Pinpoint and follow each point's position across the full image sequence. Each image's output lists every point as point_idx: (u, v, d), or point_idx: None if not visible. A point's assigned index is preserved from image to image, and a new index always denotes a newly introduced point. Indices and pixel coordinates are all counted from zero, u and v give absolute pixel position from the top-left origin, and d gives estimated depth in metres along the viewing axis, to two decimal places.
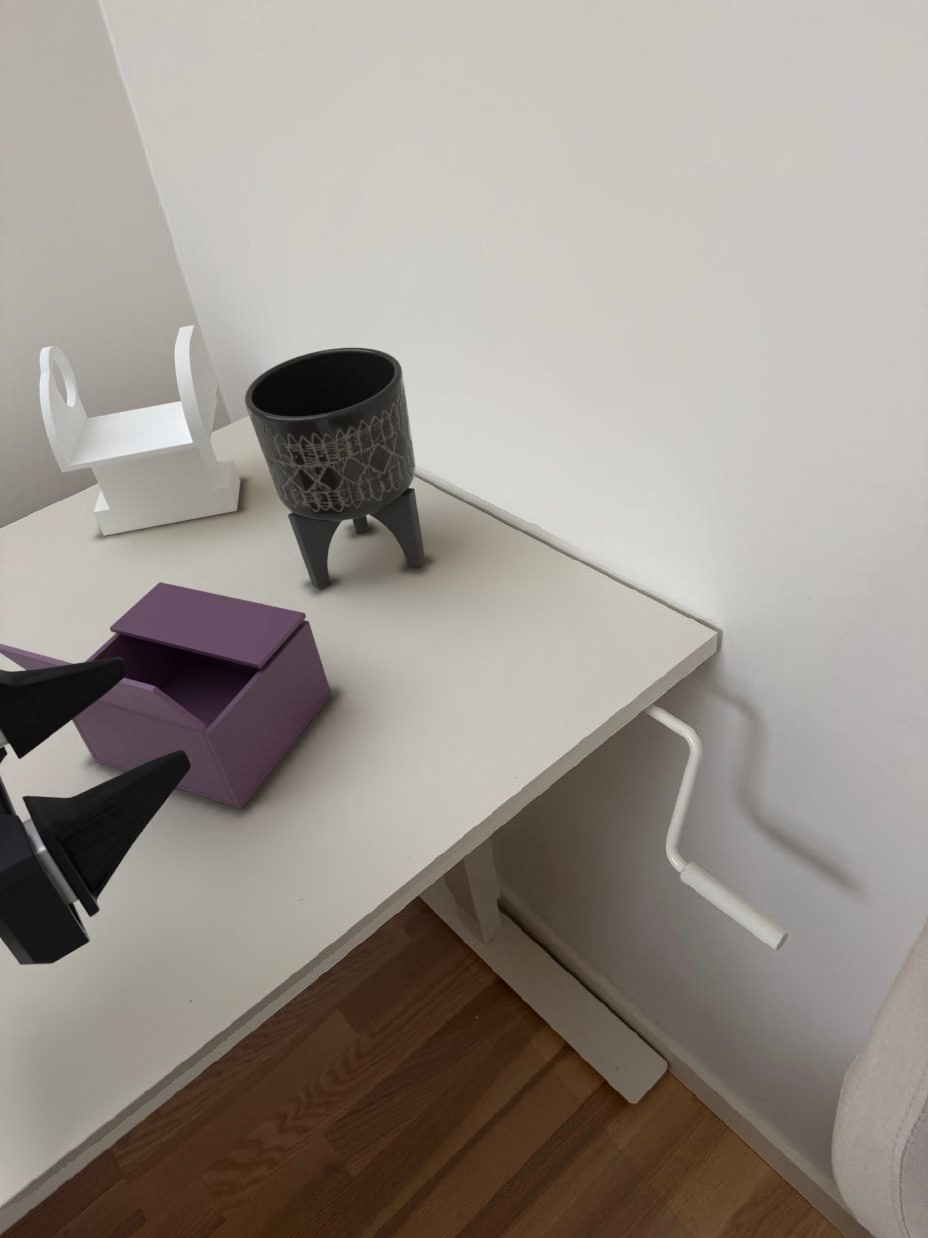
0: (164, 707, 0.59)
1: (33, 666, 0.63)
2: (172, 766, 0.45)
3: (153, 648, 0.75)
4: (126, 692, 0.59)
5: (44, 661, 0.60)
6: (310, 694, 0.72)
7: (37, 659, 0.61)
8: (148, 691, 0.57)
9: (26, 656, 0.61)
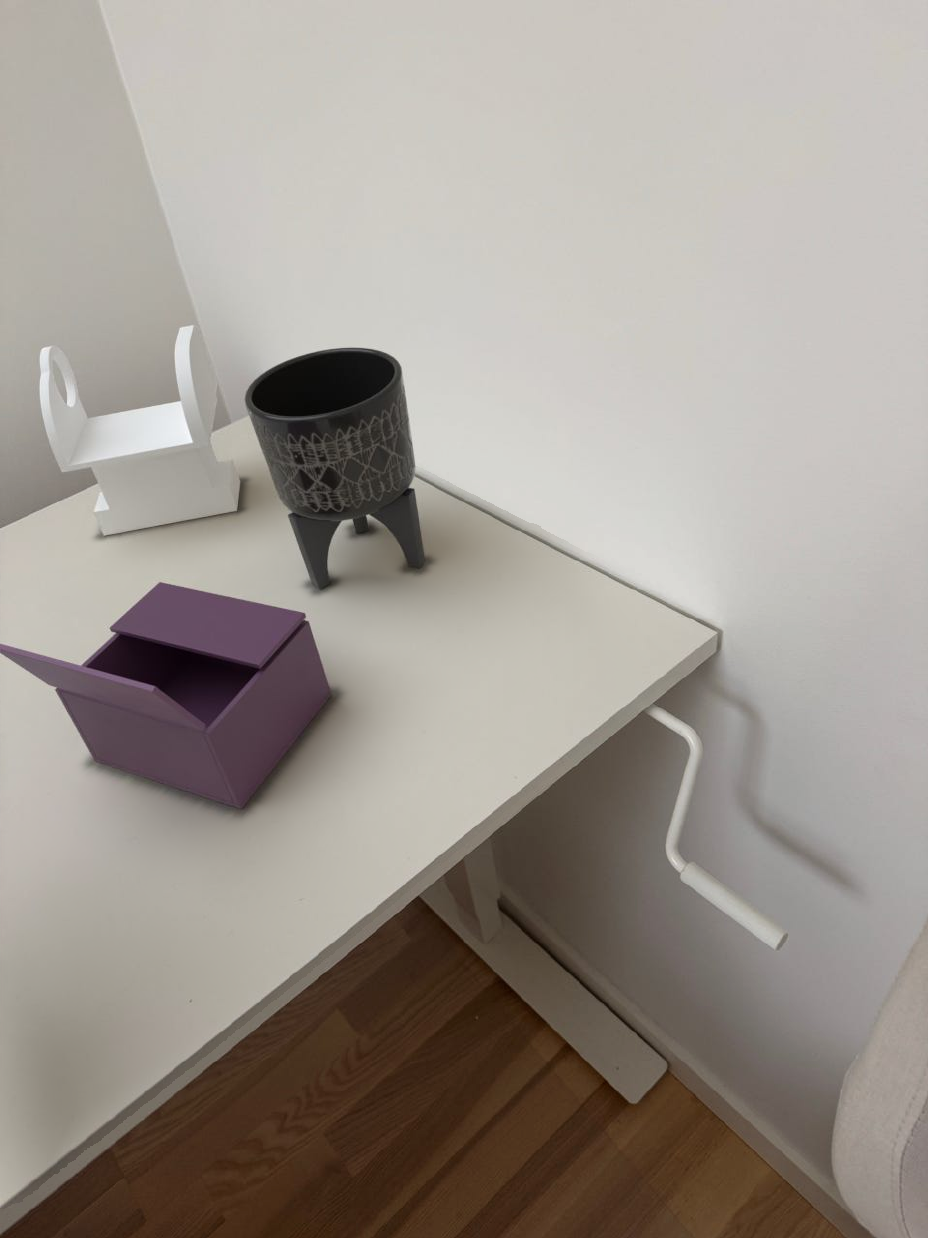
0: (164, 707, 0.59)
1: (33, 666, 0.63)
2: None
3: (153, 648, 0.75)
4: (126, 692, 0.59)
5: (44, 661, 0.60)
6: (310, 694, 0.72)
7: (37, 659, 0.61)
8: (148, 691, 0.57)
9: (26, 656, 0.61)
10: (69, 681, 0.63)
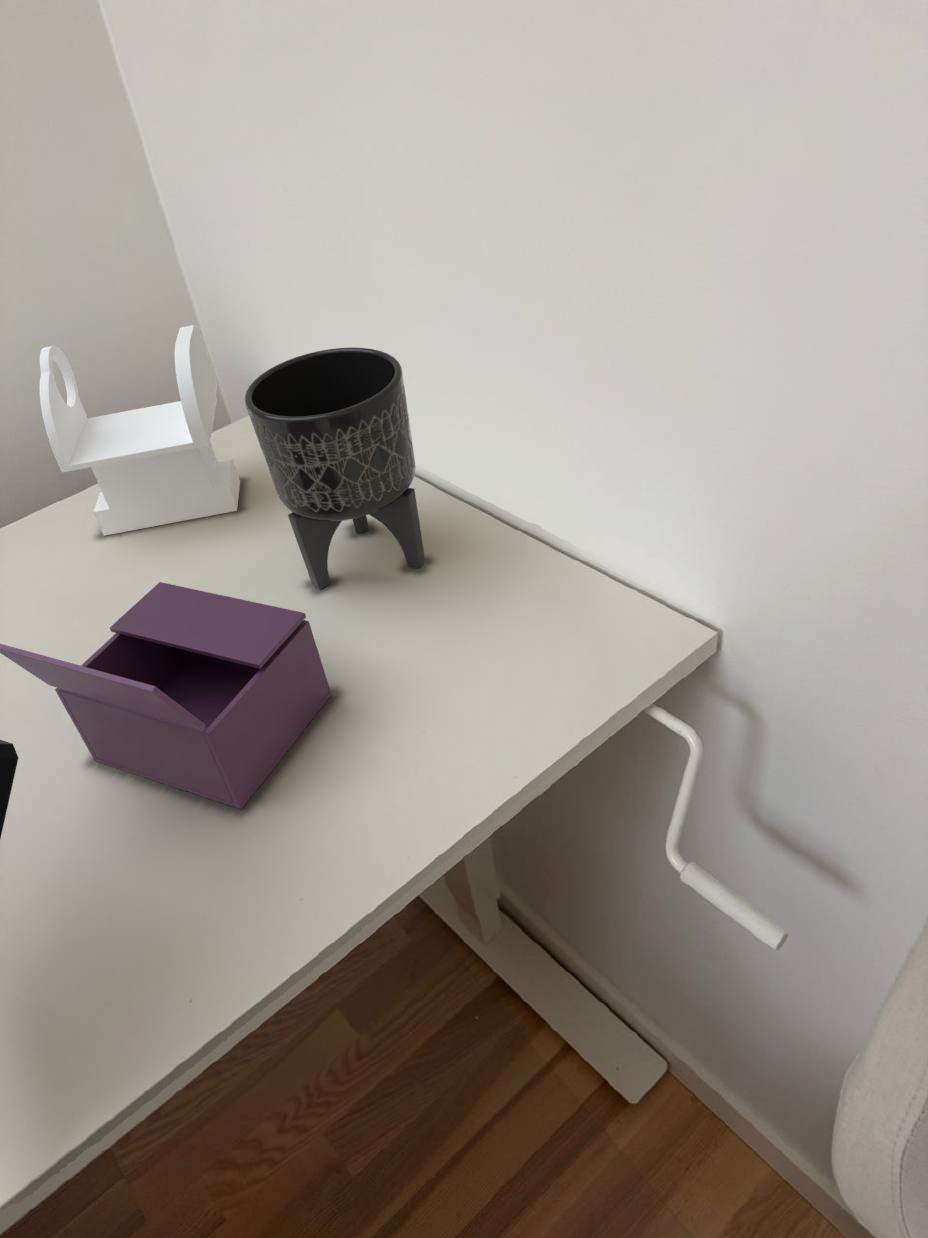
0: (164, 707, 0.59)
1: (33, 666, 0.63)
2: None
3: (153, 648, 0.75)
4: (126, 692, 0.59)
5: (44, 661, 0.60)
6: (310, 694, 0.72)
7: (37, 659, 0.61)
8: (148, 691, 0.57)
9: (26, 656, 0.61)
10: (69, 681, 0.63)
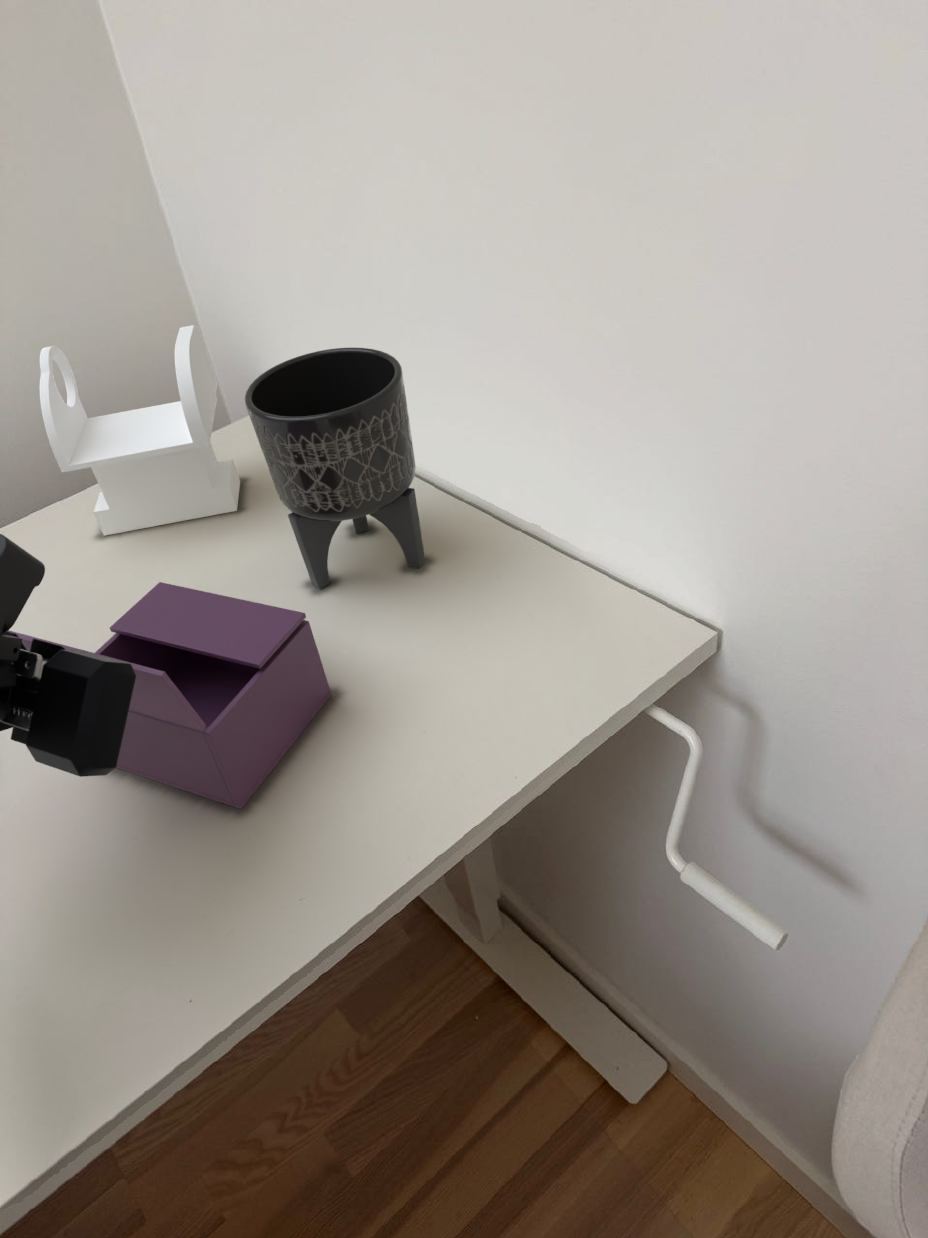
0: (168, 699, 0.59)
1: None
2: None
3: (153, 648, 0.75)
4: None
5: None
6: (310, 694, 0.72)
7: None
8: (157, 676, 0.57)
9: None
10: None
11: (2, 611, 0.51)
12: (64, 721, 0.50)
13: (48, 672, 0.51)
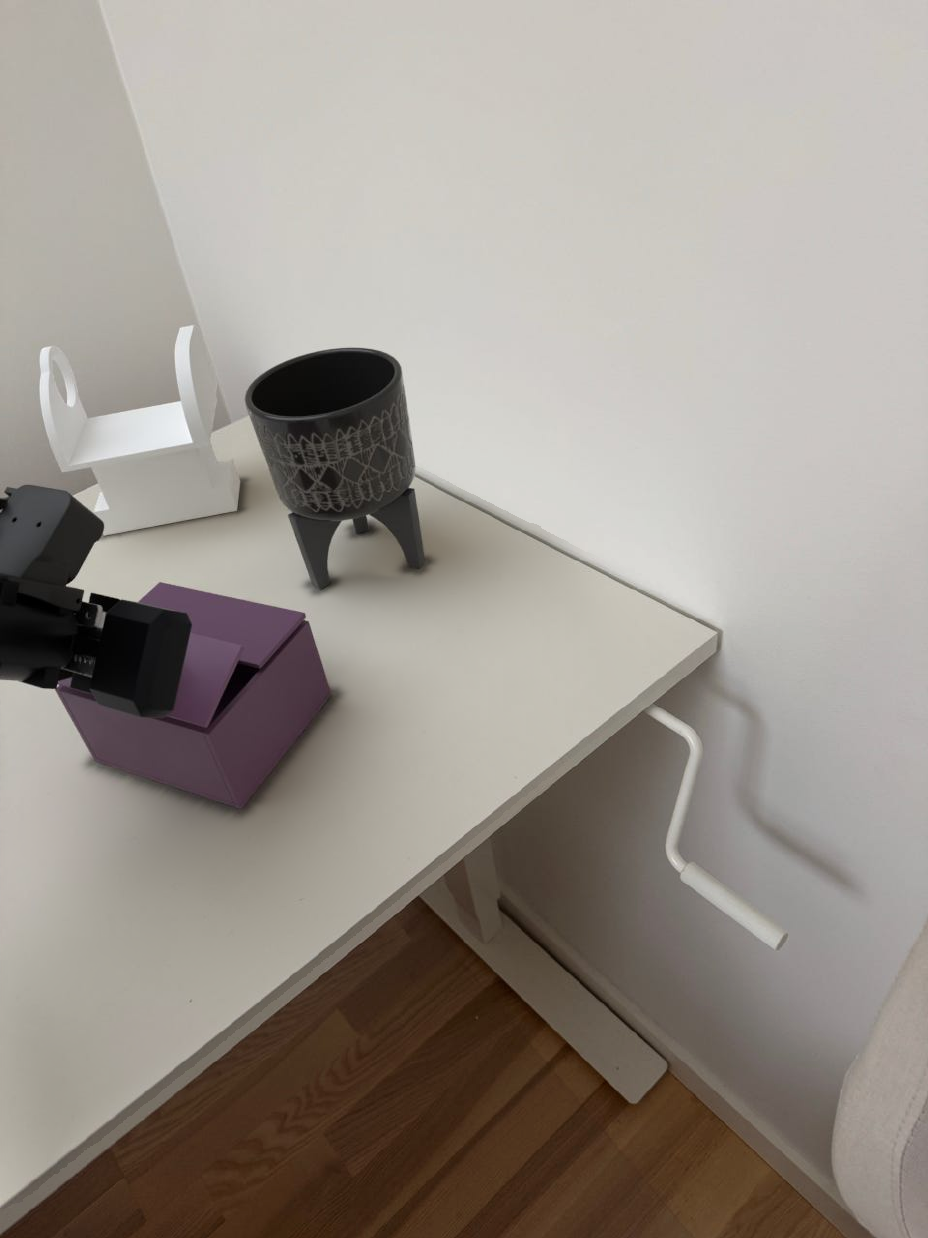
0: (210, 680, 0.63)
1: None
2: None
3: None
4: (190, 658, 0.64)
5: None
6: (310, 694, 0.72)
7: None
8: (235, 645, 0.63)
9: None
10: None
11: (66, 563, 0.55)
12: (126, 665, 0.53)
13: (110, 620, 0.54)
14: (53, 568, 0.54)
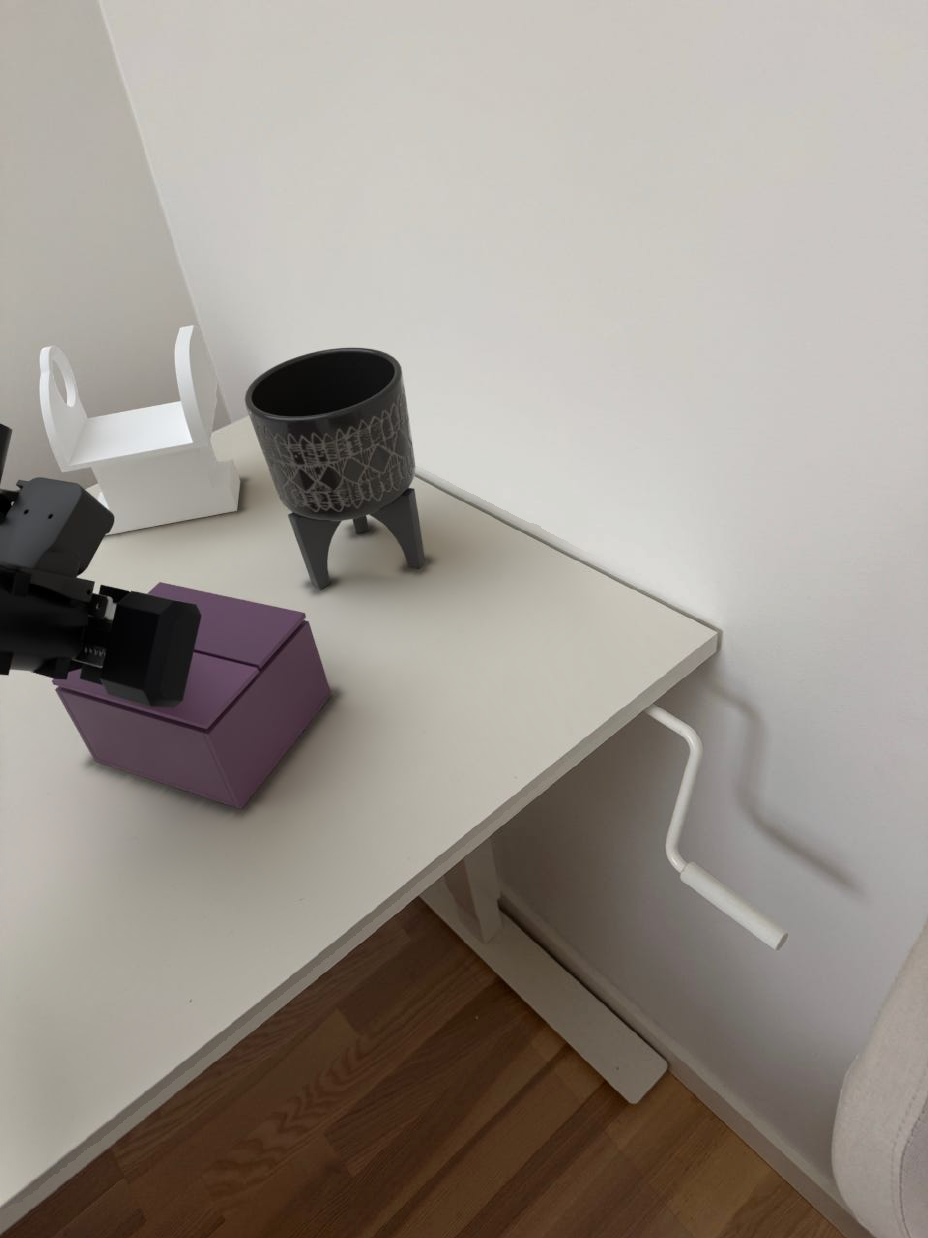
0: (220, 691, 0.64)
1: None
2: None
3: None
4: (203, 674, 0.65)
5: None
6: (310, 694, 0.72)
7: None
8: (251, 668, 0.65)
9: None
10: None
11: (77, 555, 0.55)
12: (137, 655, 0.54)
13: (121, 611, 0.54)
14: (64, 559, 0.54)
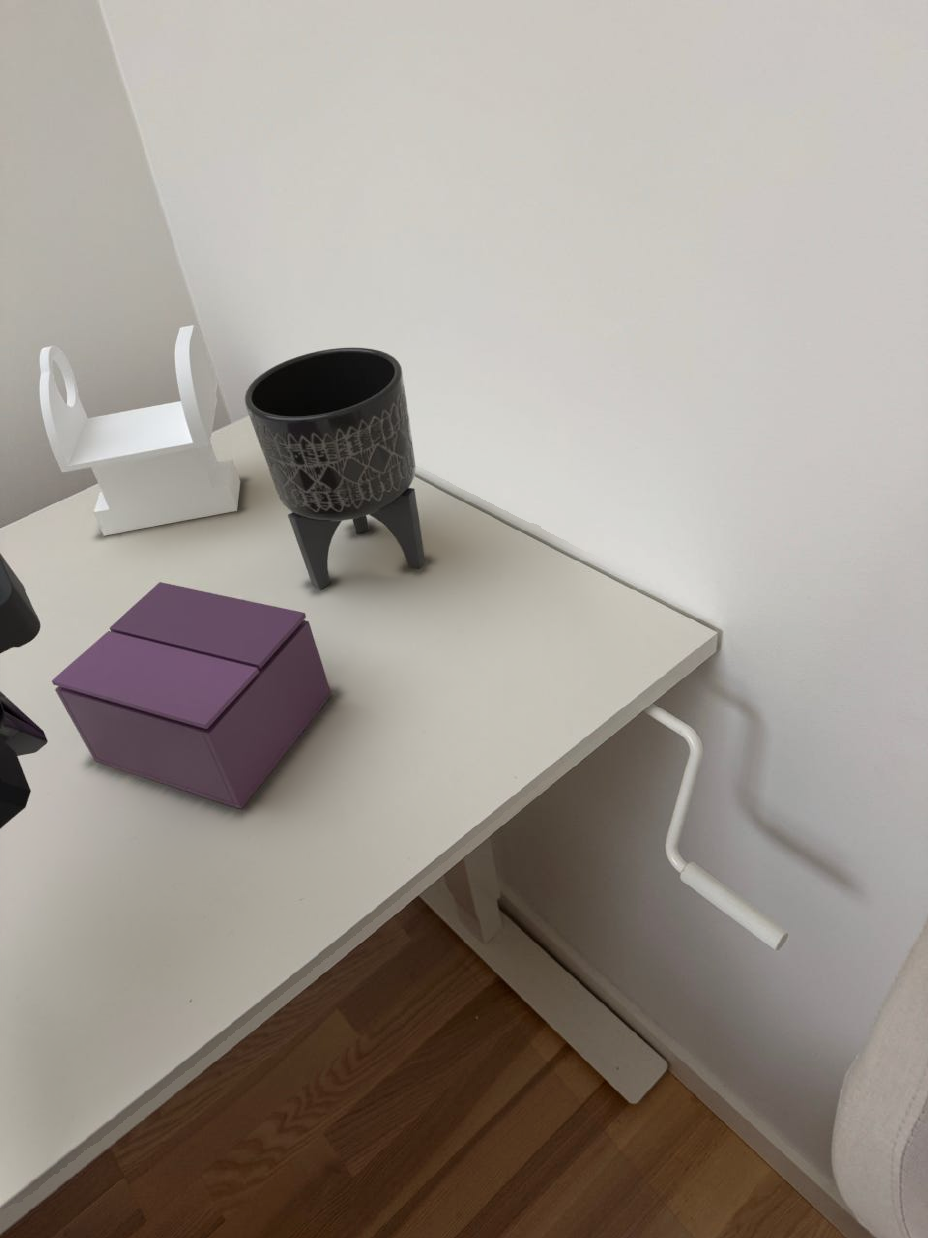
0: (220, 691, 0.64)
1: (113, 651, 0.69)
2: (37, 742, 0.55)
3: None
4: (203, 674, 0.65)
5: (157, 643, 0.69)
6: (310, 694, 0.72)
7: (150, 642, 0.69)
8: (251, 668, 0.65)
9: (140, 639, 0.70)
10: (124, 668, 0.67)
11: None
12: None
13: None
14: None
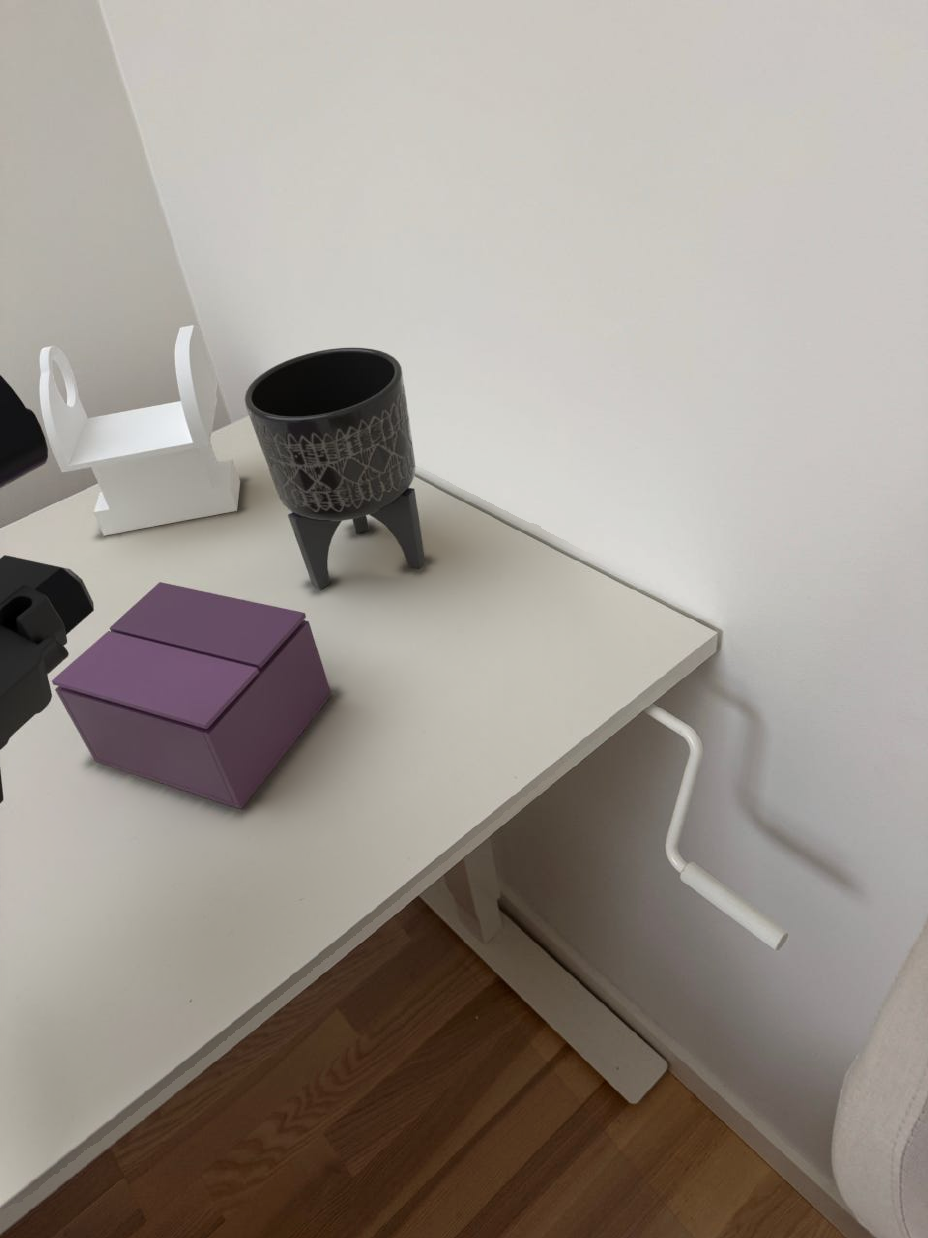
0: (220, 691, 0.64)
1: (113, 651, 0.69)
2: None
3: None
4: (203, 674, 0.65)
5: (157, 643, 0.69)
6: (310, 694, 0.72)
7: (150, 642, 0.69)
8: (251, 668, 0.65)
9: (140, 639, 0.70)
10: (124, 668, 0.67)
11: None
12: None
13: None
14: None
